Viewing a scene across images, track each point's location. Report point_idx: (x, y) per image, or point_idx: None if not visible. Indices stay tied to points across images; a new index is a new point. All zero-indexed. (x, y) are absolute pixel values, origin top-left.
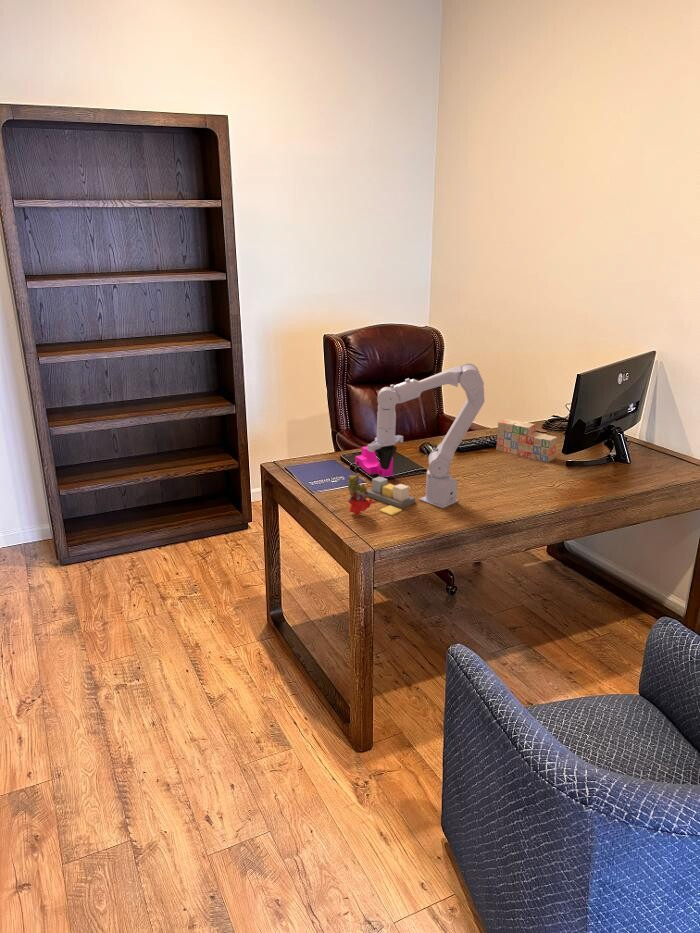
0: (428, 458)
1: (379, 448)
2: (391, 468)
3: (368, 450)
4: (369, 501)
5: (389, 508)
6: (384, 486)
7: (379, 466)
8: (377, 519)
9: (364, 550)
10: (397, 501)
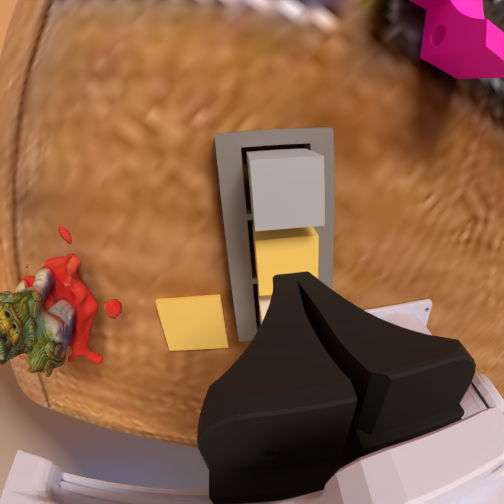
0: (484, 398)
1: (195, 501)
2: (481, 74)
3: (27, 463)
4: (79, 349)
5: (197, 315)
6: (263, 248)
7: (454, 20)
8: (115, 338)
9: (34, 400)
10: (246, 321)
